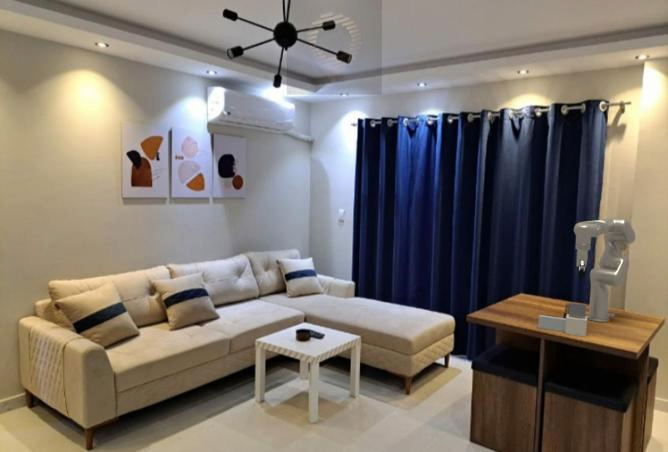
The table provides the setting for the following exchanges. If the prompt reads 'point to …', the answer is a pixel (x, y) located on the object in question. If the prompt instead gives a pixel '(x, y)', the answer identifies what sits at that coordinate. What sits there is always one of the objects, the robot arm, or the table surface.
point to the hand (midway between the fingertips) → (581, 276)
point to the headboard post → (564, 324)
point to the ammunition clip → (566, 310)
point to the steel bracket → (577, 310)
